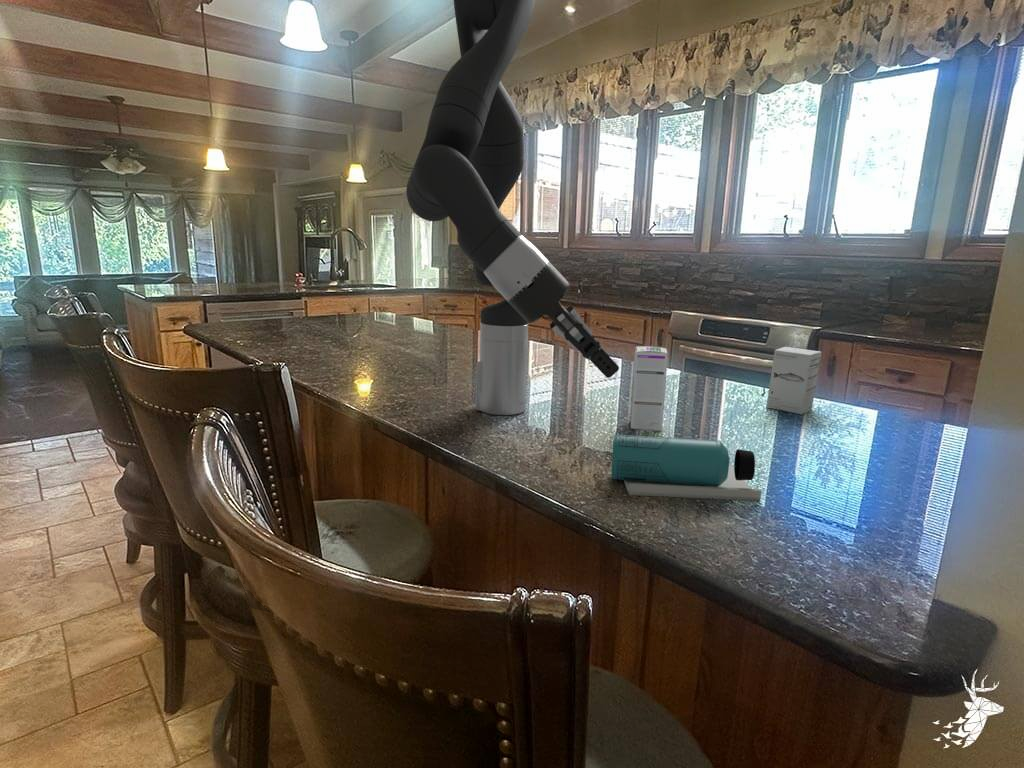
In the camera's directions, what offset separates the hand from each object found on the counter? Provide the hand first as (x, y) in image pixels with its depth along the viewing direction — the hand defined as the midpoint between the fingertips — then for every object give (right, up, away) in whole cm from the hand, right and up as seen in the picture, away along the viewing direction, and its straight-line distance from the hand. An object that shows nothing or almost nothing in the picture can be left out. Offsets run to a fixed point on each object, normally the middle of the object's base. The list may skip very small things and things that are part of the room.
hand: (613, 372), depth 78 cm
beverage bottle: (-1, -11, +2) cm, 12 cm away
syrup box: (+11, -9, +28) cm, 31 cm away
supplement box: (+45, -7, +43) cm, 63 cm away
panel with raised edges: (+10, -15, +3) cm, 19 cm away
